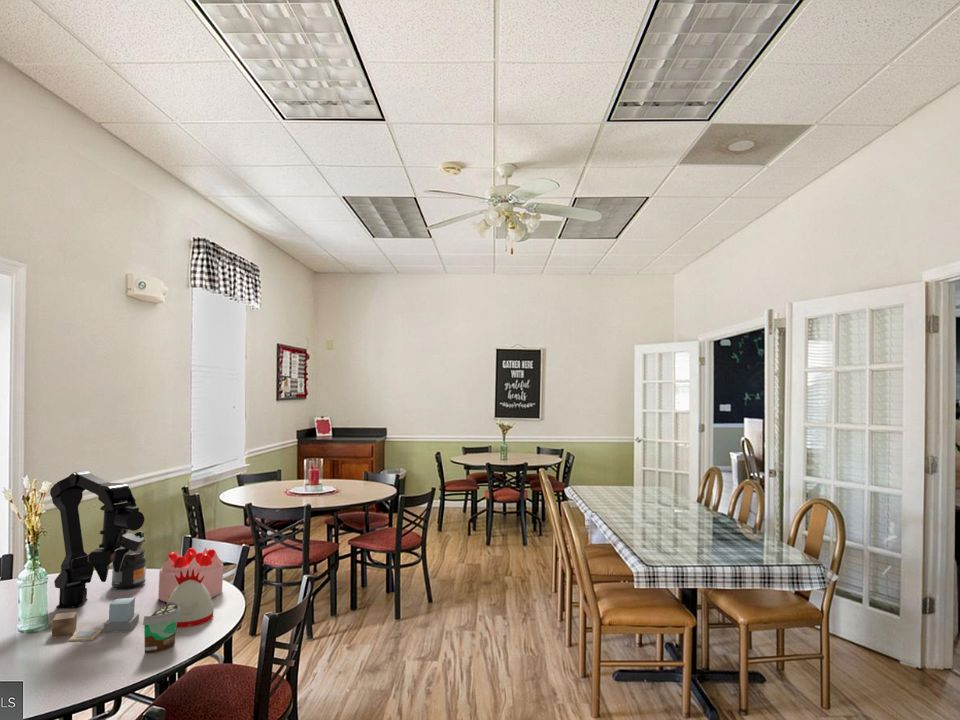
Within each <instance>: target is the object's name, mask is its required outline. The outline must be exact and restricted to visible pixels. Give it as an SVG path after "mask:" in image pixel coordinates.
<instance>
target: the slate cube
mask: <svg viewBox="0 0 960 720" xmlns="http://www.w3.org/2000/svg"><path fill="white" fill-rule="evenodd" d="M135 601H136V598H135V597H130V598H127V597H126V598H124V597H123V598H122V597H121V598H116V599H114V600H113V601H112V602H111V603H110V604H109V610H108V611H109V612H108V619H109V622H125V621H128V620H129V619H131V618H132V617H133V616H134V614H135V606H136V605H135Z"/></svg>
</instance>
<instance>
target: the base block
mask: <svg viewBox="0 0 960 720" xmlns="http://www.w3.org/2000/svg"><path fill="white" fill-rule="evenodd" d="M139 621H140V613H134V616H133V617H132V618H131V619H129V620H128V621H125V622H109V618H108V619H107V620H106V621H105V622H104V623H103V633H105V634H109V633H124V632H131V631H132V630H134V628H135V627H136V626H137V625H138V623H139Z"/></svg>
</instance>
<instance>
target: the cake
mask: <svg viewBox="0 0 960 720" xmlns="http://www.w3.org/2000/svg"><path fill="white" fill-rule="evenodd" d="M193 569H194V574H195V576H196V575H197V574H198V572H199V576H198V579H199V580H200V579H201V578H202V577H203V576H204V578H203V580H202V582H201V583H202V584H203V585H204V586H205V587H206V589H207V590H208V592H209V594H210V597H211V599H212V598H215V597H217V596H219V595H220V594H221V593H222V591H223V582H224V563H223V560H221V559H220V558H219V556H218V553H217V552H216V550H215V549H214V548H210V549H207V547H204V549H203V551H202V552H197V551H196V549H195V547H189V548H188V549H187V550H186V552H185V554H184V556H183V555H181V554H180V553H179V552H178V549H175V552H170V553H169V554H168V555H167V556H166V557H165V561H164V563H163V564H162V567H160V570H159V574H158V575H159V576H158V577H159V578H158V579H159V580H158V595H157V596H158V598H159V600H160V601H161V602H163V603H164V602H165V603H167V602H168V600H169V599H168V596H169V595H170V594H171V593H172V592H173V591H174V589H175V588H176V587H177V586H178V585H179V584H178V582H177V580H176V578H175V575H177V577H180V572H181V570H182V573H183V576H184V577H185V576H186V573H187V570H189V576H191V574H192V570H193Z"/></svg>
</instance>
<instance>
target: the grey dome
mask: <svg viewBox="0 0 960 720" xmlns="http://www.w3.org/2000/svg"><path fill="white" fill-rule="evenodd" d="M198 576H199V572H198V574H197V575H196V576H195V574H194V569H193V570H192V574H191V576H189V570H187V573H186V576H185V577H184V576H183V573H182V570H181V572H180V577H177V575H175V578H176V580H177V582H178V584H179V585H178V586H177V587H176V588H175V589H174V591H173V592H172V593H171V594H170V595H169V596H168V599H169V600H168V602H175V603H177V604H178V605H179V607H180V612H181V614H180V615H179V616H178V618H177V626H176V629H177V628H191V627H195V626H199V625H202V624H205V623H208V622H209V621H211V620H212V617H213V618H214V604H213V599H212V598H211V597H210V594H209V592H208V590H207V589H206V587H205V586H204V585H203V584H202V583H201V582H202V580H203V578H204V576H203V577H202V578H201V579H200V580H199V579H198Z"/></svg>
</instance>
